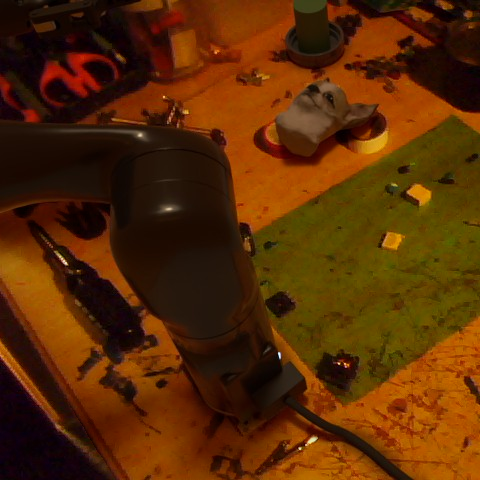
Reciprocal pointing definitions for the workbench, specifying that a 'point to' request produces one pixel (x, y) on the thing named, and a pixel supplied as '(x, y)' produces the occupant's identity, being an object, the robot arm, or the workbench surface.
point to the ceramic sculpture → (318, 117)
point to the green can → (312, 26)
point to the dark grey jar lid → (319, 58)
